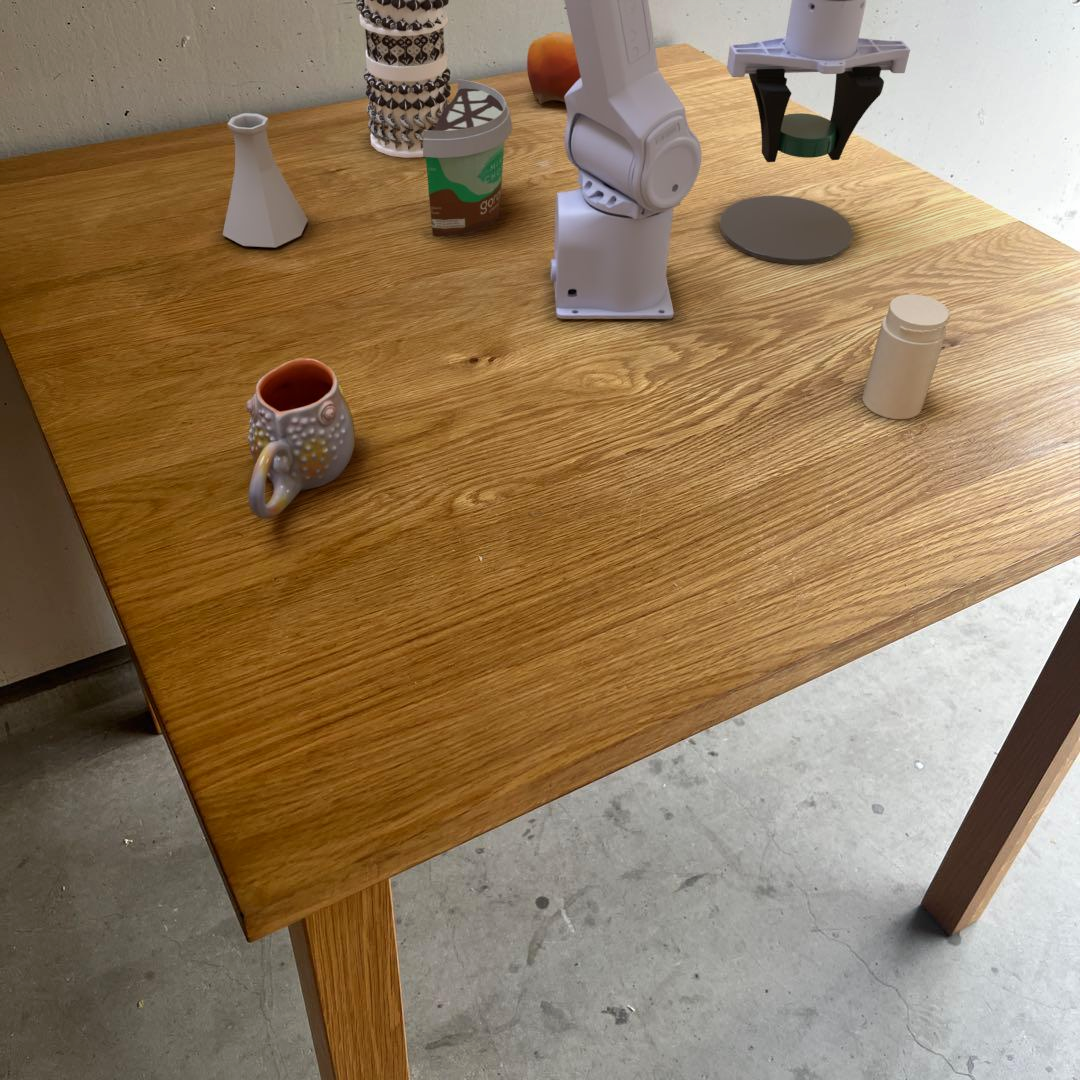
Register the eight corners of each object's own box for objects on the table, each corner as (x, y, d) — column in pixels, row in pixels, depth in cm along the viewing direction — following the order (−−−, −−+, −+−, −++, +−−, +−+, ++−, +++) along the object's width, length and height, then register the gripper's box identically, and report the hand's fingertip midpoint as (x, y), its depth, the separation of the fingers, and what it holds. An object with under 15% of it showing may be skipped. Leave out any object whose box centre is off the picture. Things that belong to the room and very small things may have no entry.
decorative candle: (428, 166, 109) (413, -122, 91) (349, 148, 111) (319, -136, 94) (472, 132, 115) (465, -145, 97) (395, 115, 117) (375, -157, 100)
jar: (883, 424, 80) (910, 331, 74) (850, 390, 83) (874, 298, 77) (934, 412, 81) (965, 320, 75) (900, 379, 84) (927, 288, 78)
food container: (495, 251, 97) (494, 140, 90) (428, 243, 98) (421, 132, 91) (524, 188, 106) (525, 83, 99) (462, 181, 106) (459, 76, 100)
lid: (837, 158, 93) (841, 139, 92) (775, 157, 93) (778, 138, 92) (827, 132, 97) (831, 113, 96) (767, 131, 97) (770, 112, 96)
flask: (208, 240, 97) (185, 129, 90) (253, 205, 102) (235, 97, 95) (279, 257, 95) (261, 145, 89) (321, 220, 100) (308, 111, 93)
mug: (280, 423, 79) (266, 345, 74) (372, 438, 78) (363, 359, 73) (206, 536, 70) (185, 454, 65) (307, 554, 69) (293, 473, 64)
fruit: (516, 102, 117) (524, 21, 115) (527, 115, 124) (534, 39, 123) (592, 109, 116) (601, 27, 114) (598, 121, 123) (606, 44, 122)
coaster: (730, 264, 96) (730, 259, 96) (710, 200, 105) (711, 195, 104) (866, 264, 96) (867, 259, 96) (835, 200, 105) (836, 195, 105)
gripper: (752, 8, 83) (728, 179, 92) (938, 4, 84) (896, 174, 93) (731, -23, 88) (710, 143, 97) (907, -26, 89) (869, 138, 98)
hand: (799, 156), depth 95 cm, fingers closed on lid, 5 cm apart
